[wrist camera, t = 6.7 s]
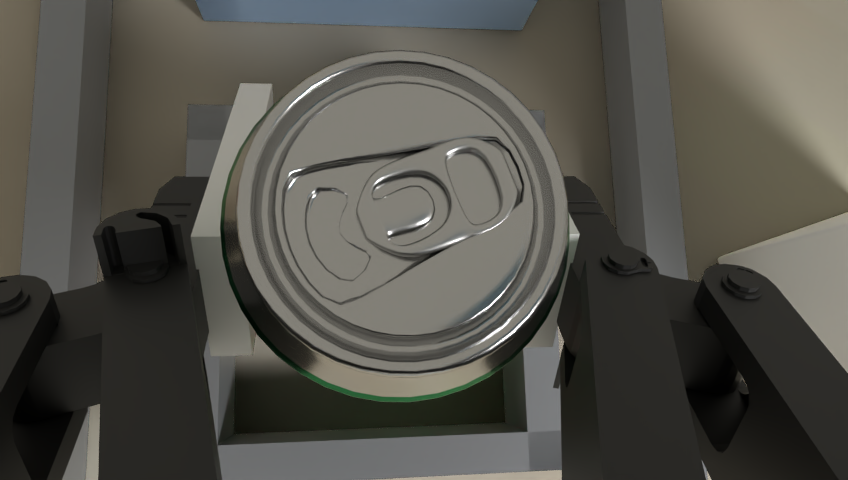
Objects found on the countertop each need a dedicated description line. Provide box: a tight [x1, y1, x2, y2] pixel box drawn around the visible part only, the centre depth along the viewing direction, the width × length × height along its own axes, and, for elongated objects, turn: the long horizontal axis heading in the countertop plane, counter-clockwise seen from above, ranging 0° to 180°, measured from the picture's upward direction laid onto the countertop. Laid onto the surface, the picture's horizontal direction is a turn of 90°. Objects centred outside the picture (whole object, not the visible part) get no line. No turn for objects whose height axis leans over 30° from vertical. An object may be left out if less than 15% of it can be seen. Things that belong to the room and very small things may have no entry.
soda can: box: [220, 50, 570, 402], centre depth 14 cm, size 5×5×12 cm
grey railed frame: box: [20, 0, 708, 480], centre depth 20 cm, size 18×26×3 cm
